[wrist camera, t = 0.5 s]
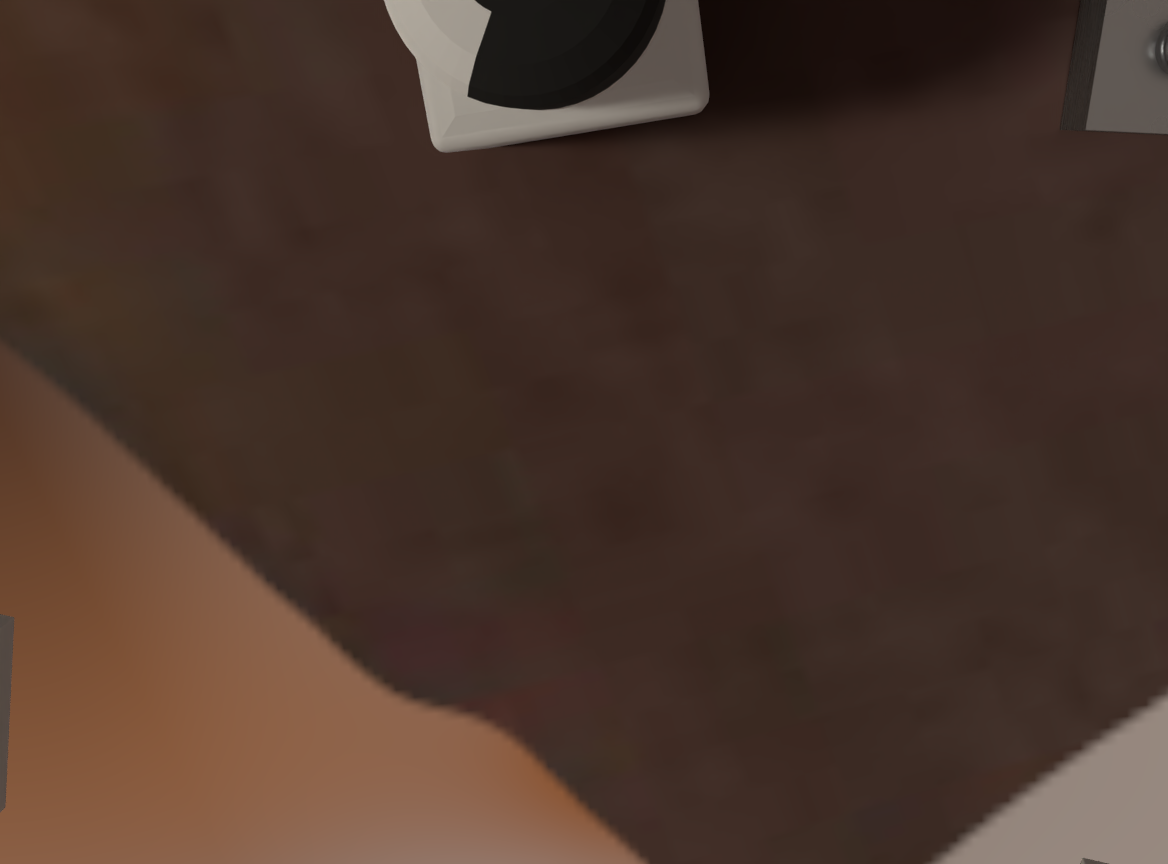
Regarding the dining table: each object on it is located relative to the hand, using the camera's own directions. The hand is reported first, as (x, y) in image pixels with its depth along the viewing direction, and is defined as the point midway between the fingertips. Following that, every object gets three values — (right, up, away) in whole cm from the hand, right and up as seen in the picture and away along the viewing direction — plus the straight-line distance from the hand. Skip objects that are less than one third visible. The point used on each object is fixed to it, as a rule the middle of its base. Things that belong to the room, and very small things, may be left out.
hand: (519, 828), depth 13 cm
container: (0, +19, +23) cm, 30 cm away
